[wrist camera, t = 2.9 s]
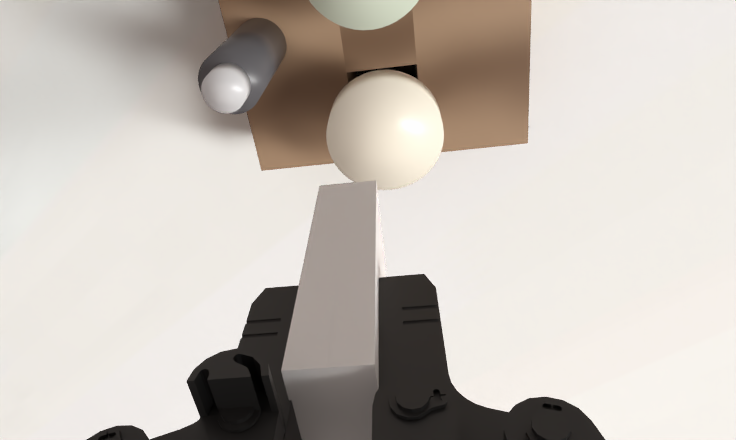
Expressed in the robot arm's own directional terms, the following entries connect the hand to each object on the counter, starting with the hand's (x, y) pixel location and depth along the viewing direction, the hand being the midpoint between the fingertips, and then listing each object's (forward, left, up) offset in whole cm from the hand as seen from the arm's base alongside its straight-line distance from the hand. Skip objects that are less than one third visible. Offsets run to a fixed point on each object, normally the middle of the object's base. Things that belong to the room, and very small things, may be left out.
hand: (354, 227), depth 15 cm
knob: (+1, +1, -16) cm, 16 cm away
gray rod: (-2, -5, -14) cm, 15 cm away
